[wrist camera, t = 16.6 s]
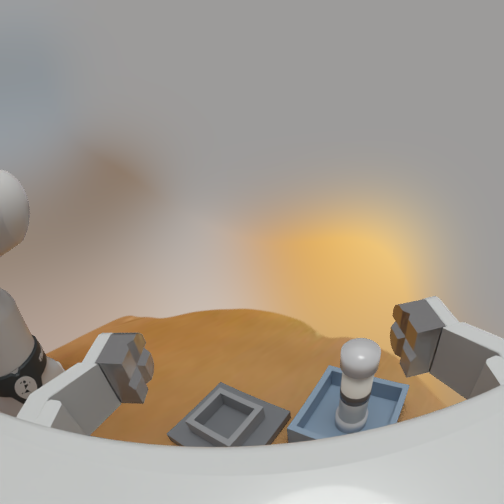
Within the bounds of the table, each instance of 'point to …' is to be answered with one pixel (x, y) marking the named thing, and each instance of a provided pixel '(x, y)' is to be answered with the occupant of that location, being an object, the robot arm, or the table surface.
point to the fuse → (356, 383)
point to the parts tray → (327, 401)
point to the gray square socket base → (230, 421)
